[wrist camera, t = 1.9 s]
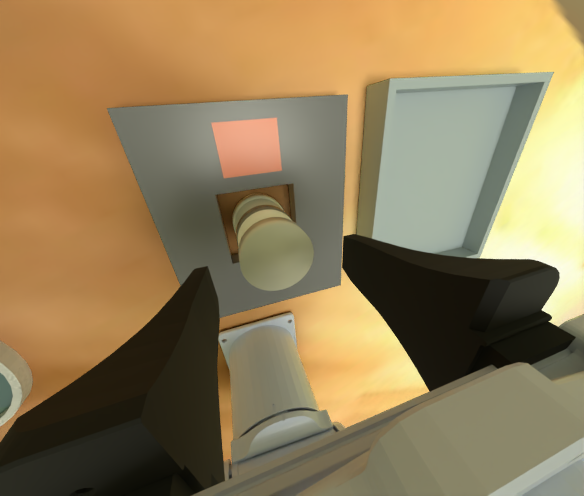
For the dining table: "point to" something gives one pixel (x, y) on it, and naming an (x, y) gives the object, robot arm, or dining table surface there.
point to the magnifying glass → (12, 382)
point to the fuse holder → (240, 181)
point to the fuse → (270, 244)
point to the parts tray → (442, 157)
